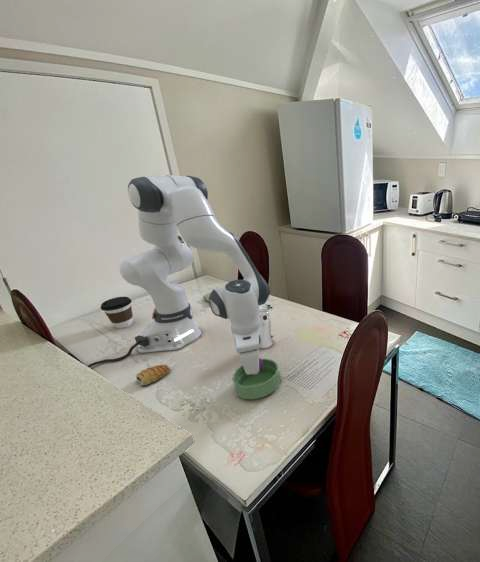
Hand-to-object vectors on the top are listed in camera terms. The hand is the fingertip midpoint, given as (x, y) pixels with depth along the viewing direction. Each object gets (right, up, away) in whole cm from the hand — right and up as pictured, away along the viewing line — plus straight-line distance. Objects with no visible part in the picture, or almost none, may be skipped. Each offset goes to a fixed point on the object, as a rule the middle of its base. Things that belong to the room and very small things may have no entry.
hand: (255, 367), depth 102 cm
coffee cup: (-75, +8, +40) cm, 85 cm away
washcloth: (-41, +19, +65) cm, 79 cm away
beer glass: (-5, +2, +25) cm, 25 cm away
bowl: (0, -7, +3) cm, 8 cm away
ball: (0, -2, +1) cm, 2 cm away
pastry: (-39, -6, +7) cm, 40 cm away
